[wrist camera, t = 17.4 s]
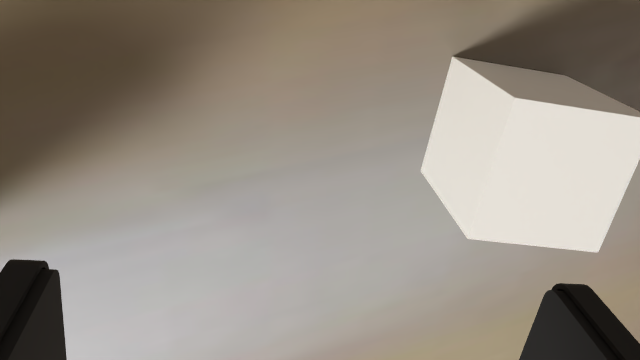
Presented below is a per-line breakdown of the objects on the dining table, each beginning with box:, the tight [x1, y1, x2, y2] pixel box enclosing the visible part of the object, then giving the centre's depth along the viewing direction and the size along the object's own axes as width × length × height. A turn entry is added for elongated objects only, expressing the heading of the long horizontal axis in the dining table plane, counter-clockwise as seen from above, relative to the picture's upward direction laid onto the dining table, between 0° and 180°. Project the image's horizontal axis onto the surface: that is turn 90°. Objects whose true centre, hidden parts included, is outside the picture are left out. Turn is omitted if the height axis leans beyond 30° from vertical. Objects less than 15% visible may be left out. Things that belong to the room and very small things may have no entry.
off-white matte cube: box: [421, 57, 640, 252], centre depth 32 cm, size 8×8×9 cm
